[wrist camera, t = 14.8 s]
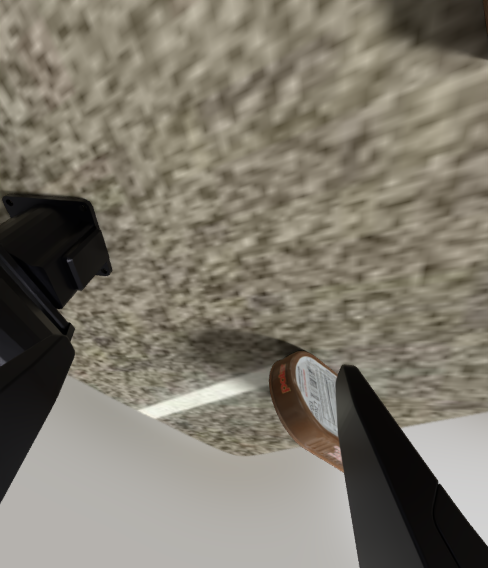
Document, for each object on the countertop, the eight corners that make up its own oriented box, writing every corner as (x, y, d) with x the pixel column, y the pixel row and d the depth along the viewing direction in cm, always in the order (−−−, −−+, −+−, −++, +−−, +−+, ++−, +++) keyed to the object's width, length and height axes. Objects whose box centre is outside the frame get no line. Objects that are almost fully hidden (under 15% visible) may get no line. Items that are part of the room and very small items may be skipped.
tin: (268, 345, 29) (263, 432, 22) (292, 331, 27) (295, 420, 21) (356, 410, 34) (373, 495, 28) (381, 402, 33) (406, 490, 26)
